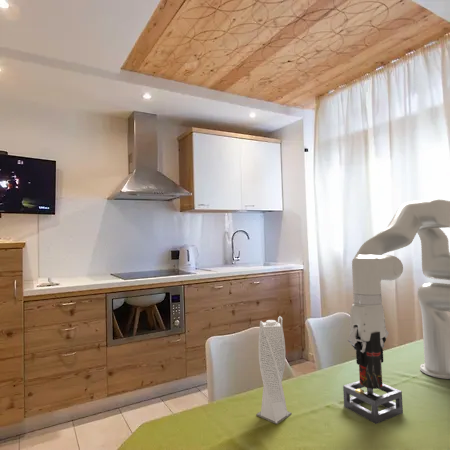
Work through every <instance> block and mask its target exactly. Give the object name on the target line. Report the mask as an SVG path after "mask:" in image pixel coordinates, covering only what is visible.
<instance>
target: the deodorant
mask: <svg viewBox="0 0 450 450" xmlns="http://www.w3.org/2000/svg"><path fill="white" fill-rule="evenodd" d="M359 339H360V340H361V337H359ZM359 345H360V346H361V345H362V342H360V344H359ZM365 352H366V353H367V367H363V366H361V365H358V371H359V373H358V374H359V381H360V384H361V385H362V386H364V387H363V388H366V389H367V388H371V389H373V390H376V389H377V390H380V389H379V388H381V387H382V383H383V373H382V372H383V371H382V363H381V344H380V332H377V333H372V334H371V336H370V341H368V342H367V343H366V348H365Z"/></svg>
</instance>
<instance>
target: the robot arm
mask: <svg viewBox="0 0 450 450" xmlns="http://www.w3.org/2000/svg"><path fill="white" fill-rule="evenodd" d="M441 228H442V229H443V228H450V201H449V200H444V199H437V198H431V199H420V200H413V201H412V200H411V201H407V202H404V203H402V204H400V206H399V207H398V208H397V210H396V212H395V213H394V215H393V217H392V218H391V220H390V222H389V224H388V225H387V227H386V229H384V230H382V231H380V232H378V233H377V234H375V235H374V236H372V237H370V238H369V239H367V240H366V241H364V243H363V244H362V245H361V246H360V248H359V249H358V250H357V252H356V253H355V256H354V257H353V259H352V260H351V268H352V269H351V271H352V272H351V273H352V294H353V299H352V300H353V304H351V308H350V313H349V314H350V315H349V336H348V337H347V341H348V342H349V344H350V345H351V347H353V350H355V355H356V356H355V357H356V359H355V360H356V364H357V365H358V366H359V365H361V366H363V367H367V353H366V352H365V348H366V343H367V342H368V341H370V336H371V334H372V333H377V332H380V344H381V364H383V363H384V348H385V343H386V341H387V338H388V336H389V334H390V332H389V331H388V330H387V326H386V317H385V312H384V311H385V310H384V306H383V303H382V302H383V301H382V299H383V298H382V282H381V281H395V280H397V279H399V278H400V277H401V276H402V275H403V271H404V266H403V262H402V261H401V259H400V258H399V257H397V256H394V255H390V254H386V253H390V252H393V251H397V250H401V249H403V248H406V247H408V246H409V245H410V244H412V242H413V241H414V239H415V237H416V235H418V236H419V239H420V240H419V241H420V245H421V269H422V270H421V271H422V274H423V275H424V276H425V277H426V278H428V279H434V280H443V281H447V280H448V281H450V249H449V238H448V235H446V233H445V232H444V230H442V229H441ZM417 298H418V302H419V307H420V312H421V321H422V340H423V355H424V357H423V358H424V363H421V364H420V366H419V369H420V371H421V372H422V373H424V374H425V375H427V376H429V377H433V378H437V379H444V380H450V314H449V313H450V283H443V282H426V283H422V284H421V285H420V286H419V288H418V290H417ZM359 337H361V340H360V339H359ZM360 342H362V345H361V346H360V345H359V344H360Z"/></svg>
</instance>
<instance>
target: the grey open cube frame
mask: <svg viewBox="0 0 450 450" xmlns="http://www.w3.org/2000/svg"><path fill="white" fill-rule="evenodd" d="M362 388H365V387H364V386H362V385H361V384H360V380H358V381H353V382H351V383H346V384H344V385H343V386H342V389H343V390H342V391H343V392H342V393H343V407H344V408H347V410H350V411H352V412H353V413H355V414H357V415H358V416H360V417H362V418H364V419H366V420H368V421H369V422H372V423H373V424H375V425H377V424H381V423H382V422H384V421H386V420H387V421H388V420H390V419H392V418H395V417H398V416H400V415H402V414H403V413H404V411H403V410H404V409H403V391H402V390H400V389H397V388H395V387H393V386H390V385H387V384H385V383H384V382H382V387H381V388H379V389H378V390H380V391H381V392H384V394H381V395H380V394H378V393H376V392H374V389H371V388H366V392H365V391H364V389H362ZM363 403H366V404H368V405H370V407H371V408H370V409H371V410H369V409H367V408H366V407H364V406H362V405H361V404H363ZM379 406H382V407H384V408H385V409H382V410H379Z"/></svg>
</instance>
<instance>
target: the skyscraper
mask: <svg viewBox="0 0 450 450" xmlns="http://www.w3.org/2000/svg"><path fill="white" fill-rule="evenodd" d="M285 341H286V340H285V335H284V328H283V317H282V316H281V315H279V316H278V318H277V320H275V319H268V320H266V321H262V320H260V321H259V332H258V364H259V370H260V375H261V380H262V384H263V389H262V400H261V409H260V411H259V412H257V413H256V416H257V417H259V418H261V419H264V420H266V421H267V422H270V423H272V424H275V425H279V424H280V423H281V422H283V421H284V420H285V419H287V418H288V417H290V416H291V415H292V412H291V411H288V409H287V404H286V398H285V392H284V387H283V383H282V381H283V377H284V372H285V365H286V342H285Z"/></svg>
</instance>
